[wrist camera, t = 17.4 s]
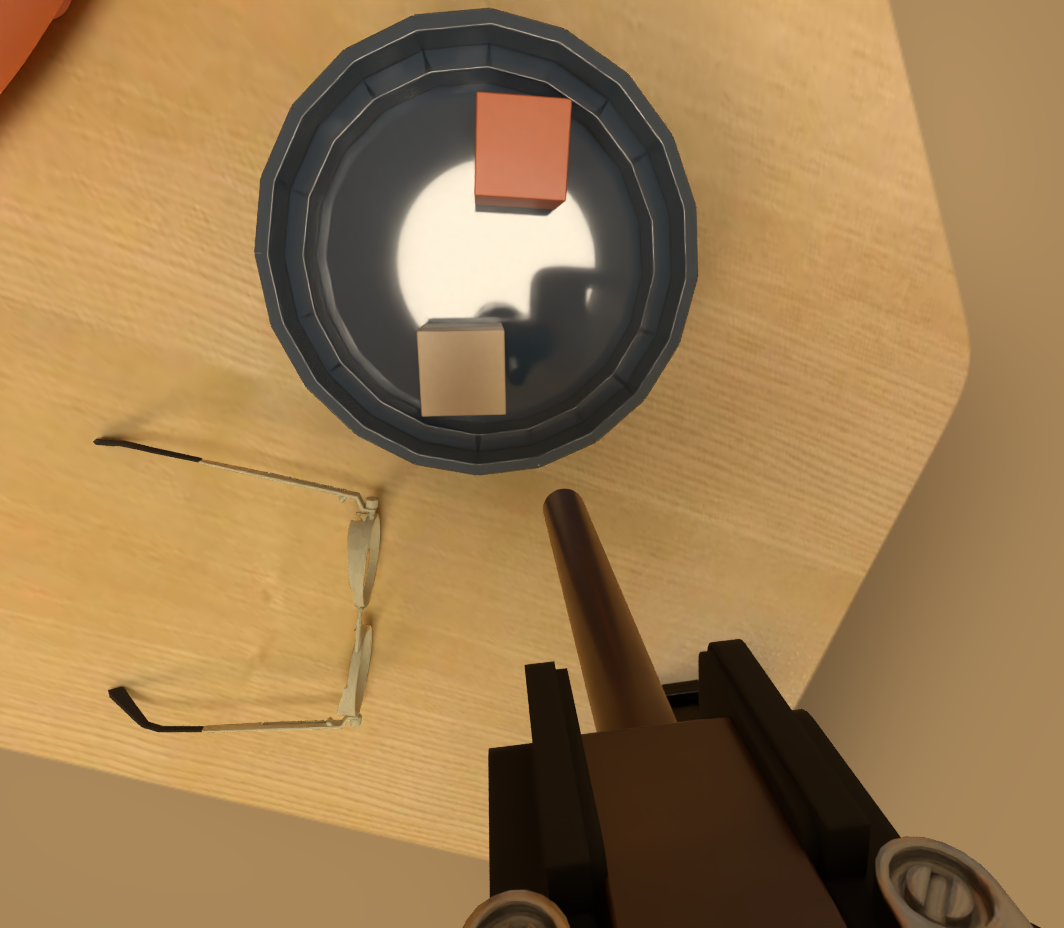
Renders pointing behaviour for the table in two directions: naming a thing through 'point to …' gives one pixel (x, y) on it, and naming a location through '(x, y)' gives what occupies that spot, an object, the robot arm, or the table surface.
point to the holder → (683, 700)
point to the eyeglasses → (358, 544)
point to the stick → (672, 776)
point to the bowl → (474, 241)
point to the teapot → (23, 31)
